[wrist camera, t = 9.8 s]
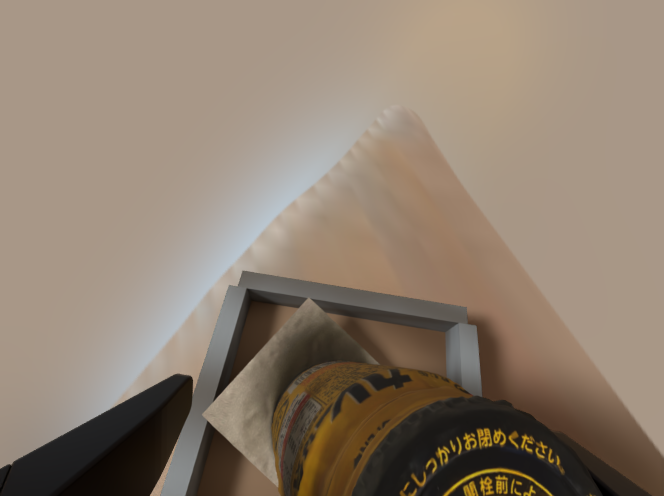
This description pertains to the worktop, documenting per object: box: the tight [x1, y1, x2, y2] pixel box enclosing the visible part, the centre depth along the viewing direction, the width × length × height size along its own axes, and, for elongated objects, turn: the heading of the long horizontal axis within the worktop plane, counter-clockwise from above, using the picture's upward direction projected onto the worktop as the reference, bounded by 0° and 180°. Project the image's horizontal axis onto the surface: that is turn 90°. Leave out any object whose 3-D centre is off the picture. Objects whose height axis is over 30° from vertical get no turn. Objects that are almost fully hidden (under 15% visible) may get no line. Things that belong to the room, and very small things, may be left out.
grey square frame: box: [160, 271, 482, 496], centre depth 17 cm, size 14×14×3 cm
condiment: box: [202, 298, 603, 496], centre depth 11 cm, size 7×8×12 cm
